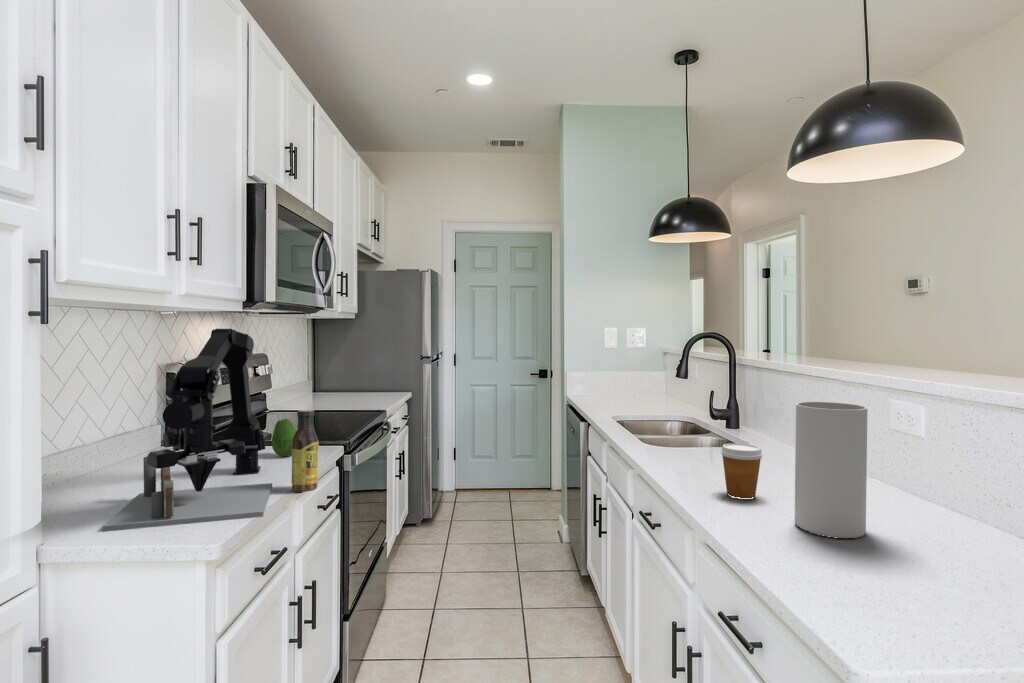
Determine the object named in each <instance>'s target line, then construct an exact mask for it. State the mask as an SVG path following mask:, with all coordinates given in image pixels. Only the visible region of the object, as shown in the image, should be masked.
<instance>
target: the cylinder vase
mask: <svg viewBox="0 0 1024 683" xmlns="http://www.w3.org/2000/svg"><path fill="white" fill-rule="evenodd" d="M794 447H795V449H794V450H795V456H794V457H795V461H794V462H795V464H794V465H795V466H794V467H795V468H794V475H795V476H794V478H795V479H794V523H795V524H796V526H797V527H798V526H799V527H800V529H801V528H802V529H801V530H803V529H804V530H803V531H805V530H806V531H805V532H807V531H809V532H812V533H815V534H819V535H824V536H830V537H837V538H854V539H858V537H859V538H861V537H863V536H864V535H865V534H866V532H867V481H868V480H867V479H868V478H867V476H868V475H867V474H868V473H867V471H868V470H867V468H868V467H867V466H868V464H867V463H868V460H867V459H868V407H867V406H864V405H860V404H852V403H845V402H834V401H833V402H831V401H829V402H828V401H801V402H796V403H795V446H794ZM799 527H798V528H799ZM809 532H808V533H809ZM812 533H811V534H812ZM815 534H814V535H815ZM819 535H818V536H819Z"/></svg>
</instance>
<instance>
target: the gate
mask: <svg viewBox="0 0 1024 683" xmlns="http://www.w3.org/2000/svg"><path fill="white" fill-rule="evenodd" d="M160 491H164V518H165V517H172V516H174V497H173V491H174V480H172V478H171V467H166V468H160Z"/></svg>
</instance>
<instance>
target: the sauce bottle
mask: <svg viewBox="0 0 1024 683" xmlns="http://www.w3.org/2000/svg"><path fill="white" fill-rule="evenodd" d="M296 412H297V413H296V415H297V430H296V433H295V435H294V436H293V448H292V455H291V485H292V486H291V490H292V491H293V492H295V493H296V492H298V493H305V492H311V491H315V490H316V489H317V488H318V482H319V448H320V447H319V446H320V444H319V442H320V441H319V438H318V436H317V433H316V430H315V424H314V421H315V420H314V417H315V410H314V409H298V410H297V411H296Z"/></svg>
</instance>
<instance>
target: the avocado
mask: <svg viewBox="0 0 1024 683" xmlns="http://www.w3.org/2000/svg"><path fill="white" fill-rule="evenodd" d="M273 429H274V430H273V434H272V437H271V443H270V445H271V448H272V450H273V452H274V453H275V454H276V455H278V456H280V457H283V456H287V457H292V448H293V436H294V435H295V433H296V431H297V430H296V428H295V426H294V424H293V422H292V421H291V420H290V419H287V418H281V419H279V420H277V422H276V423H275V427H274V428H273Z"/></svg>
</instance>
